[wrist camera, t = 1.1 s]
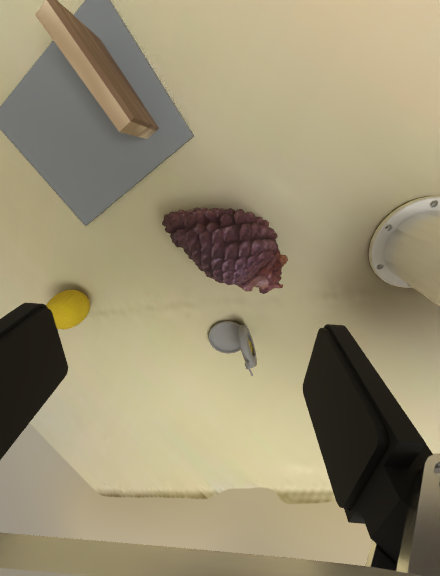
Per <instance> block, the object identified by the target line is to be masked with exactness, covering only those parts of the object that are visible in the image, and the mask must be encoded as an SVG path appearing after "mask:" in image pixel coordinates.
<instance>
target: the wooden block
mask: <svg viewBox="0 0 440 576" xmlns="http://www.w3.org/2000/svg"><path fill="white" fill-rule="evenodd" d="M35 15H36V17H37V18H38V19H39V21H40V22H41V24H42V25H43V26H44V28H45V29H46V31H47V32H48V33H49V35H50V36H51V38H52V39H53V40H54V42H55V43H56V44H57V46H58V47H59V49H60V50H61V51H62V53H63V54H64V56H65V57H66V58H67V60H68V61H69V63H70V64H71V65H72V67H73V68H74V70H75V71H76V72H77V74H78V75H79V77H80V78H81V79H82V81H83V82H84V83H85V85H86V86H87V88H88V89H89V90H90V92H91V93H92V95H93V96H94V97H95V99H96V100H97V102H98V103H99V104H100V106H101V107H102V109H103V110H104V111H105V113H106V114H107V115H108V117H109V118H110V120H111V121H112V122H113V124H114V125H115V127H116V128H117V129H118V131H119V132H122V133H126V134H129V135H133V136H137V137H141V138H145V139H148V138H149V137H150V136H151V135H152V134H153V133H155V132H156V131H157V130H158V129H159V127H158V126H157V124H156V123H155V121H154V120H153V118H152V117H151V115H150V114H149V112H148V111H147V109H146V108H145V106H144V105H143V103H142V101H141V100H140V98H139V97H138V95H137V94H136V92H135V91H134V89H133V88H132V86H131V85H130V83H129V82H128V80H127V79H126V77H125V76H124V74H123V73H122V71H121V70H120V68H119V67H118V65H117V64H116V62H115V61H114V59H113V58H112V56H111V55H110V53H109V52H108V50H107V48H106V47H105V45H104V44H103V42H102V41H101V39H100V38H99V37H97V36H96V35H95V34H94V33H93V32H92V31H91V30H90V29H88V28H87V27H86V26H85V25H84V24H83V23H82V22H81V21H79V20H78V19H77V18H76V17H75V16H74V15H73V14H72V13H70V12H69V11H68V10H67V9H66V8H65V7H64V6H63V5H61V4H60V3H59V2H58V1H57V0H46V1H45V2H44V3H43V5H42V6H41V7H40V9H39V10H38V11H37V13H36V14H35Z"/></svg>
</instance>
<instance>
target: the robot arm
mask: <svg viewBox="0 0 440 576" xmlns="http://www.w3.org/2000/svg"><path fill="white" fill-rule="evenodd" d="M386 226H387V227H386ZM369 261H370V264H371V267H372V269H373V271H374V272H375V273H376V275H377V276H378V277H380V278H381V279H382V280H383V281H385V282H386V283H388V284H390V285H393V286H397V287H402V288H414V289H416V290H417V291H418V292H420V293H421V294H422V295H424V296H425V297H427V298H428V299H429V300H431V301H432V302H434V303H435V304H436V305H438V306H439V307H440V196H429V197H424V198H418V199H416V200H413V201H410V202H408V203H406V204H404V205H402V206H400V207H399V208H397V209H396V210H395V211H393V212H392V213H391V214H389V215H388V216H387V217H386V218H385V219H384V220H383V221H382V223H381V224H380V225H379V227H378V228H377V230H376V231H375V233H374V235H373V237H372V240H371V243H370V247H369ZM377 265H378V266H377ZM67 371H68V365H67V361H66V358H65V354H64V351H63V348H62V344H61V341H60V337H59V334H58V331H57V327H56V324H55V320H54V317H53V313H52V311H51V310H50V309H48V307H47V306H46V305H44V304H36V303H24V304H22V305H20V306H19V307H17V308H16V309H14V310H13V311H11V312H10V313H8V314H7V315H6V316H4V317H3V318H1V319H0V459H1V458H2V457H3V456H4V454H5V453H6V452H7V451H8V449H9V448H10V447H11V445H12V444H13V443H14V441H15V440H16V439H17V438H18V436H19V435H20V434H21V433H22V431H23V430H24V429H25V428H26V426H27V425H28V424H29V422H30V421H31V420H32V419H33V417H34V416H35V415H36V413H37V412H38V411H39V410H40V408H41V407H42V406H43V404H44V403H45V402H46V401H47V399H48V398H49V397H50V395H51V394H52V393H53V392H54V390H55V389H56V388H57V386H58V385H59V384H60V383H61V381H62V380H63V379H64V377H65V376H66V374H67ZM303 394H304V398H305V401H306V404H307V407H308V411H309V414H310V417H311V420H312V424H313V427H314V430H315V433H316V437H317V440H318V443H319V447H320V450H321V453H322V456H323V460H324V463H325V466H326V469H327V473H328V476H329V479H330V482H331V486H332V489H333V492H334V495H335V499H336V501H337V503H338V505H339V506H340V507H341V508H344V509H345V513H346V516H347V519H348V522H351V523H364V524H366V527H367V530H368V532H369V535H370V538H371V539H372V543H371V547H370V551H369V554H368V558H367V562H366V566H358V565H349V564H340V563H332V562H322V561H314V560H305V559H296V558H286V557H275V556H264V555H253V554H242V553H230V552H220V551H208V550H197V549H186V548H175V547H163V546H152V545H140V544H128V543H116V542H105V541H94V540H93V541H92V540H82V539H69V538H58V537H45V536H34V535H33V536H32V535H22V534H10V533H0V576H440V454H432V452H431V451H430V449H429V448H428V446H427V445H426V443H425V441H424V440H423V438H422V437H421V435H420V434H419V433H418V431H417V430H416V428H415V427H414V425H413V424H412V422H411V421H410V419H409V418H408V417H407V415H406V414H405V412H404V411H403V409H402V408H401V406H400V405H399V404H398V402H397V401H396V399H395V398H394V396H393V395H392V393H391V392H390V390H389V389H388V388H387V386H386V385H385V383H384V382H383V380H382V379H381V377H380V376H379V374H378V373H377V372H376V370H375V369H374V367H373V366H372V364H371V363H370V361H369V360H368V358H367V357H366V356H365V354H364V353H363V351H362V350H361V348H360V347H359V345H358V344H357V342H356V341H355V340H354V338H353V337H352V335H351V334H350V332H349V331H348V329H347V328H346V327H345V326H343V325H329V324H327V325H325V326H324V328H320V329H319V331H318V334H317V338H316V341H315V344H314V348H313V351H312V355H311V358H310V362H309V365H308V369H307V372H306V376H305V379H304V383H303Z"/></svg>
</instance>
